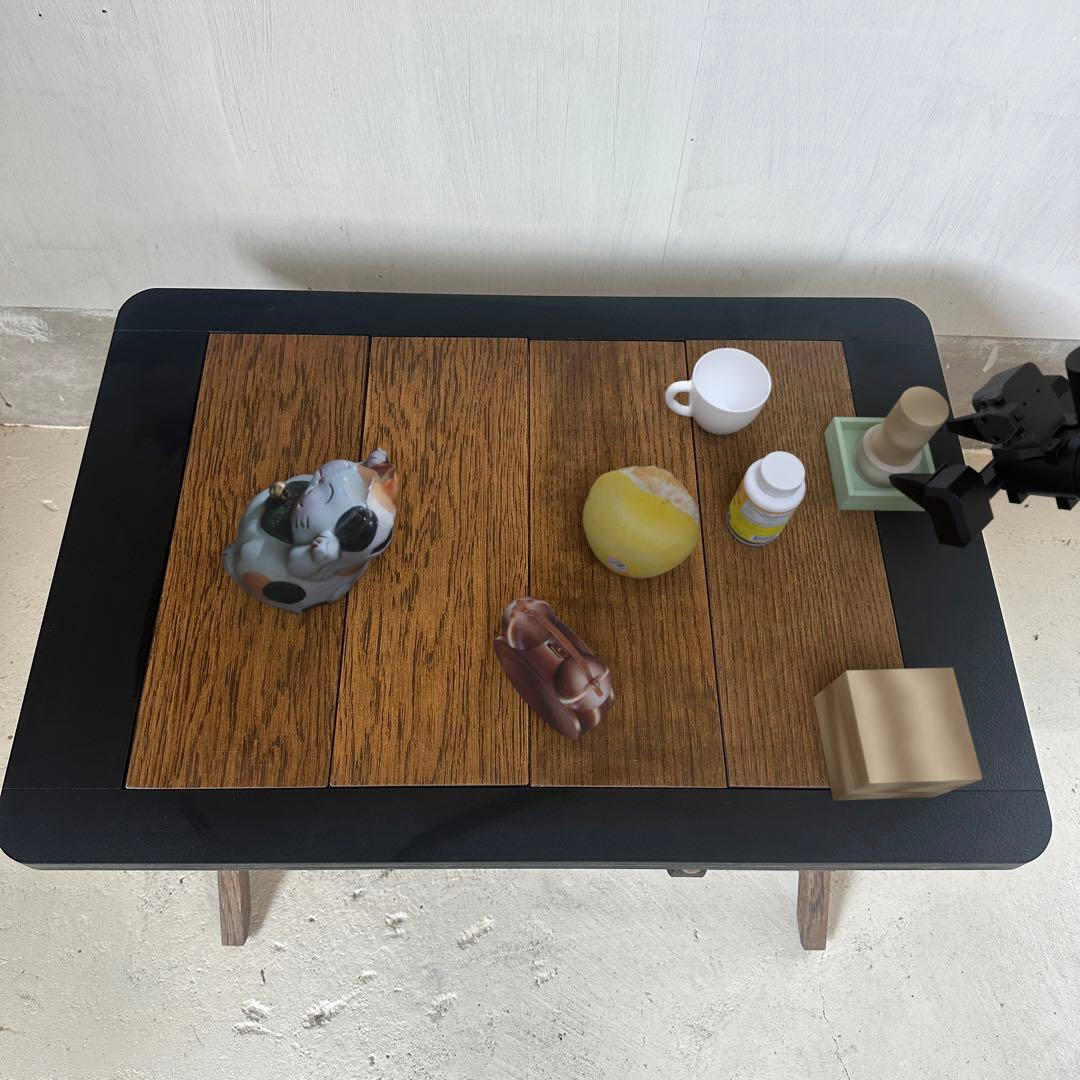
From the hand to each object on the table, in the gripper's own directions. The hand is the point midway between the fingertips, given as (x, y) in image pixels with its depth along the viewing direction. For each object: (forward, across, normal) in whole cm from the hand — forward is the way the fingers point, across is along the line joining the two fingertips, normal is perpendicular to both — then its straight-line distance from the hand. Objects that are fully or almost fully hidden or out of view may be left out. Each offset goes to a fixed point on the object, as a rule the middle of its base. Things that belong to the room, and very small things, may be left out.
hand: (919, 452), depth 81 cm
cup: (+17, +8, -8) cm, 21 cm away
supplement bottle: (+9, +14, 0) cm, 17 cm away
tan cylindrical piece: (+5, 0, +2) cm, 5 cm away
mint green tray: (+6, 0, +3) cm, 7 cm away
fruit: (+14, +25, -4) cm, 29 cm away
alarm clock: (+10, +41, -1) cm, 42 cm away
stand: (-6, +23, +15) cm, 28 cm away
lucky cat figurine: (+27, +47, -18) cm, 57 cm away
